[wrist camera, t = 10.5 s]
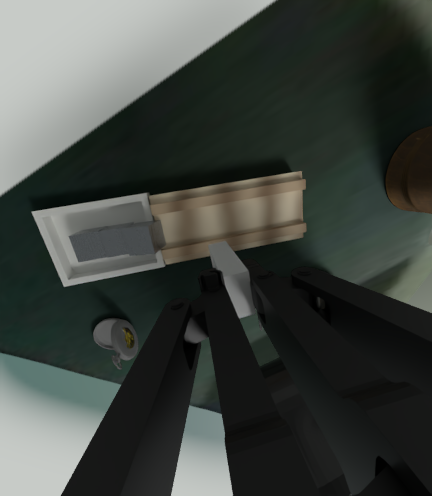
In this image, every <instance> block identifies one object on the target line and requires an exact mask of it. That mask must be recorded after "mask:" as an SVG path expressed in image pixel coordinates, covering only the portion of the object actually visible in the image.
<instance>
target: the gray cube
mask: <svg viewBox="0 0 432 496" xmlns="http://www.w3.org/2000/svg"><path fill="white" fill-rule="evenodd" d="M122 232H123V236H124V239H125V242H126V246H127V249H128V252H129V256H137V255H149V254H156V253H157V252H158V251H159V250H161V249H162V248H163V247H164V246H165V245H166V241H165V237H164V233H163V228H162V224H161V220H155V221H147V222H138V223H135V224H133V225H130V226H128V227H125V228H123V229H122Z"/></svg>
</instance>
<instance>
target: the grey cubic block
mask: <svg viewBox="0 0 432 496" xmlns="http://www.w3.org/2000/svg"><path fill="white" fill-rule="evenodd" d="M106 227H108V226H104V227H98V228H92V229H86V230H81V231H79V232H77V233H74V234H72V235H70V236H69V239H70V241H71V244H72V247H73V249H74V252H75V254H76V257H77V260H78V262H84V261H89V260H95V259H100V258H106V257H107V256H106V253H105V250H104V247H103V244H102V241H101V238H100V235H99V231H101V230H102V229H104V228H106Z"/></svg>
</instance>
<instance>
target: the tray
mask: <svg viewBox="0 0 432 496" xmlns="http://www.w3.org/2000/svg"><path fill="white" fill-rule="evenodd" d="M149 196H150V194H149V193H143V194H137V195H130V196H124V197H118V198H112V199H106V200H100V201H93V202H87V203H81V204H75V205H69V206H63V207H57V208H50V209H44V210H39V211H33V212H32V214H33V216H34V219H35V221H36V223H37V226H38V228H39V230H40V233H41V235H42V237H43V239H44V242H45V244H46V246H47V249H48V251H49V253H50V256H51V258H52V260H53V262H54V265H55V267H56V269H57V272H58V274H59V276H60V279H61V281H62V283H63V286H64V287H66V286H71V285H76V284H81V283H86V282H91V281H96V280H101V279H106V278H111V277H116V276H121V275H126V274H131V273H136V272H141V271H146V270H151V269H156V268H161V267H165V264H166V263H165V260H163V256H162V252H161V250H162V249H161V250H159V251H158V252H157V253H156V254H149V255H137V256H129V254H125V255H119V256H114V257H108V258H107V257H106V258H100V259H95V260H89V261H84V262H78V260H77V257H76V254H75V252H74V249H73V247H72V244H71V241H70V239H69V236H70V235H72V234H74V233H77V232H79V231H81V230H86V229H92V228H98V227H104V226H113V225H119V224H125V223H131V222H134V224H135V223H138V222H147V221H155V219H154V216H152V212H151V208H150V205H151V203H150V199H149Z"/></svg>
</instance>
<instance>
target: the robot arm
mask: <svg viewBox="0 0 432 496" xmlns="http://www.w3.org/2000/svg"><path fill="white" fill-rule="evenodd" d="M208 247H209V252H210V256H211V261H212V266H213V268H211V269H206V270H202V271H201V272H200V274H199V276H198V280H199V284H200V288H201V292H202V294H201V296H200V297H199V298H197V299H196V300H194V301H192V302H190V301H189V300H188V299H186V298H178V299H174V300H172V301H170V302H169V303H167V304H166V305H165V307H164V308H163V310H162V312H161V314H160V316H159V318H158V319H157V321H156V323H155V325H154V327H153V329H152V330H151V332H150V334H149V336H148V338H147V339H146V341H145V343H144V345H143V347H142V349H141V350H140V352H139V354H138V356H137V358H136V359H135V361H134V363H133V365H132V367H131V369H130V370H129V372H128V374H127V376H126V378H125V380H124V381H123V383H122V385H121V387H120V389H119V390H118V392H117V394H116V396H115V398H114V400H113V401H112V403H111V405H110V407H109V409H108V411H107V412H106V414H105V416H104V418H103V420H102V421H101V423H100V425H99V427H98V429H97V431H96V433H95V434H94V436H93V438H92V440H91V442H90V443H89V445H88V447H87V449H86V451H85V453H84V454H83V456H82V458H81V460H80V462H79V463H78V465H77V467H76V469H75V471H74V473H73V474H72V477H71V478H70V480H69V482H68V483H67V485H66V487H65V489H64V491H63V493H62V494H61V496H171V492H172V487H173V482H174V477H175V472H176V467H177V462H178V457H179V452H180V447H181V443H182V438H183V433H184V428H185V423H186V418H187V413H188V408H189V403H190V398H191V393H192V388H193V383H194V378H195V373H196V368H197V364H198V359H199V354H200V349H201V341H202V340H204V339H206V338H208V337H209V340H210V346H211V352H212V358H213V364H214V370H215V376H216V382H217V388H218V394H219V400H220V406H221V412H222V418H223V424H224V430H225V446H226V453H227V460H228V466H229V472H230V478H231V485H232V491H233V496H432V313H430V312H427V311H424V310H422V309H419V308H417V307H414V306H411V305H409V304H406V303H404V302H401V301H398V300H396V299H393V298H390V297H388V296H385V295H383V294H380V293H377V292H375V291H372V290H369V289H367V288H364V287H362V286H359V285H356V284H354V283H351V282H348V281H346V280H343V279H341V278H338V277H335V276H333V275H331V274H329V273H327V272H324V271H320V270H317V269H314V268H310V267H299V268H296V269H294V270H292V272H291V276H292V277H281V278H280V277H279V276H278V275H277V274H275V273H274V272H272V271H265V270H264V269H263V268H262V267H261V266H260V265H259V264H258V263H257V262H256V261H255V260H253V259H246V260H240V259H239V258H238V256H237V255H236V254H235V253H234V251H233V250H232V249H231V247H230V246H229V245H228V244H227V242H226V241H223V242H219V243H214V244H210V245H208ZM254 306H255V307H254ZM255 308H256V309H257V314H258V320H259V326H260V330H262V326H263V328H264V330H265V331H266V333H267V335H268V337H269V338H270V340H271V342H272V344H273V346H274V347H275V349H276V351H277V353H278V355H279V356H280V357H279V358H277V359H275V360H273V361H271V362H269V363H266V364H264V365H262V366H260V367H259V365H258V362H257V360H256V358H255V355H254V353H253V351H252V348H251V346H250V343H249V341H248V339H247V336H246V334H245V332H244V329H243V327H242V324H241V322H240V320H239V318H242V317H246V316H249V315H253V314H256V313H255Z"/></svg>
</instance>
